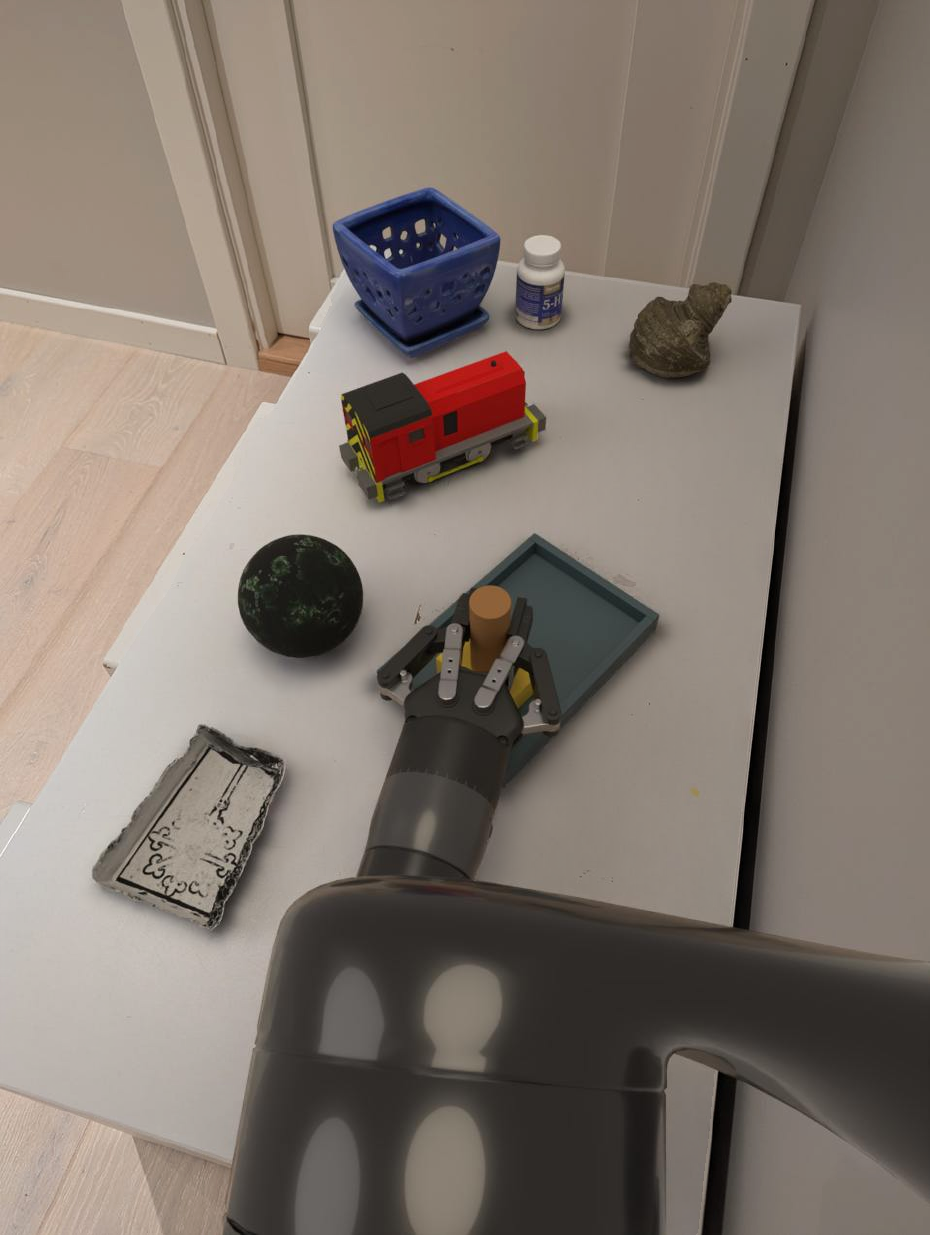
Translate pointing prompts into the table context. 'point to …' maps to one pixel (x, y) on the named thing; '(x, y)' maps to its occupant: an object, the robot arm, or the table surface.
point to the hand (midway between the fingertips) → (498, 599)
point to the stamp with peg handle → (491, 637)
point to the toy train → (434, 423)
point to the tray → (563, 629)
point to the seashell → (678, 331)
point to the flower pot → (419, 269)
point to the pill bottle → (540, 283)
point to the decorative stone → (300, 596)
